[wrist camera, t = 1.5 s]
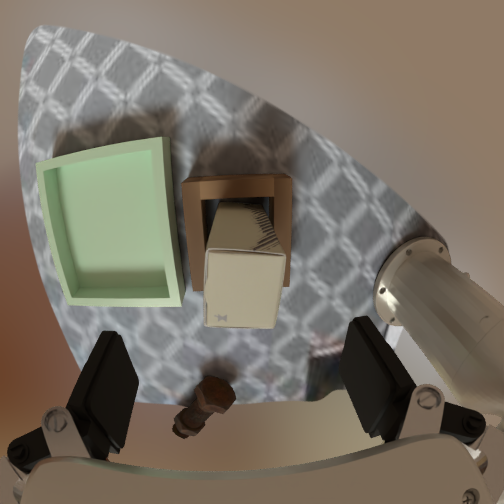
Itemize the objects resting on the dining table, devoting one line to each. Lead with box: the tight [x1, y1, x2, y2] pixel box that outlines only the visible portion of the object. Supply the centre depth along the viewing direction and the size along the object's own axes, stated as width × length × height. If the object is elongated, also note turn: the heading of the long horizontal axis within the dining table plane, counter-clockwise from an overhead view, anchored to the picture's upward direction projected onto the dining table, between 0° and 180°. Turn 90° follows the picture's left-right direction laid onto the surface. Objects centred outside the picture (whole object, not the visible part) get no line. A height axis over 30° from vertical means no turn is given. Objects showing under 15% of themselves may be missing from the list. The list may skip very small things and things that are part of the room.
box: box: [204, 202, 286, 329], centre depth 21 cm, size 5×4×13 cm
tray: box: [36, 137, 186, 307], centre depth 24 cm, size 14×16×3 cm
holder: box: [181, 174, 292, 291], centre depth 25 cm, size 9×10×4 cm
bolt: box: [172, 376, 236, 439], centre depth 35 cm, size 6×5×15 cm
